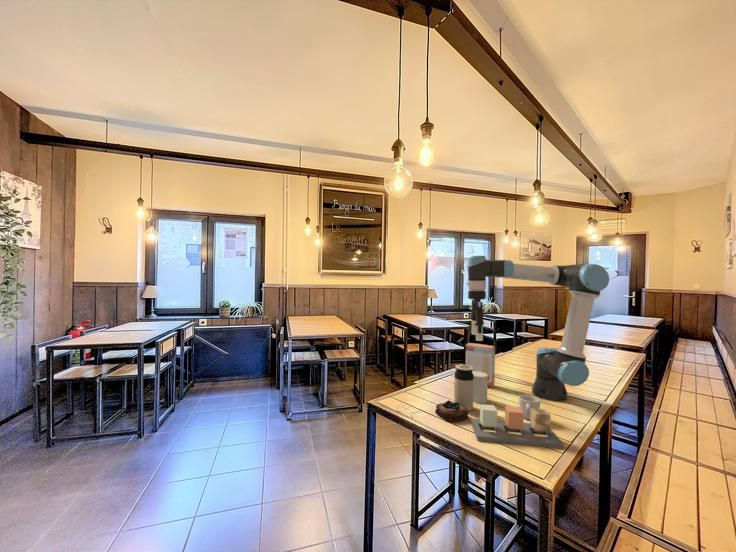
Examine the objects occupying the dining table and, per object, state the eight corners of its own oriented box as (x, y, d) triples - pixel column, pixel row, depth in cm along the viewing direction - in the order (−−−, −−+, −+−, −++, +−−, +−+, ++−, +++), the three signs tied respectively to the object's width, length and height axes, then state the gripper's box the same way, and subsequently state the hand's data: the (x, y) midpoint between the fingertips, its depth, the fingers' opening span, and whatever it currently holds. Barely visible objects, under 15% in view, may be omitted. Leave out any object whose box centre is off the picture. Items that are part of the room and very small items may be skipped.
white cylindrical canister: (488, 403, 147) (488, 377, 146) (469, 402, 148) (470, 376, 148) (485, 397, 154) (486, 372, 154) (467, 395, 156) (468, 370, 156)
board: (547, 428, 123) (547, 424, 123) (563, 448, 110) (563, 443, 110) (470, 422, 128) (471, 418, 128) (477, 440, 114) (477, 436, 114)
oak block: (544, 425, 119) (545, 409, 119) (550, 432, 114) (550, 415, 114) (530, 424, 120) (530, 408, 120) (535, 430, 115) (535, 413, 115)
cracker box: (494, 385, 172) (495, 345, 172) (491, 388, 167) (492, 347, 167) (468, 379, 180) (469, 342, 180) (464, 382, 175) (465, 344, 175)
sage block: (493, 421, 122) (494, 405, 122) (496, 427, 117) (497, 410, 117) (479, 420, 123) (480, 404, 123) (482, 426, 118) (482, 409, 118)
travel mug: (476, 407, 142) (476, 366, 142) (467, 413, 136) (468, 370, 136) (459, 402, 147) (460, 363, 147) (450, 407, 141) (451, 366, 141)
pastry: (449, 424, 126) (449, 409, 126) (431, 412, 137) (432, 398, 137) (471, 420, 130) (472, 405, 130) (452, 408, 141) (453, 395, 141)
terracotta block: (518, 423, 121) (519, 407, 121) (523, 429, 116) (523, 413, 116) (504, 422, 121) (505, 406, 121) (508, 428, 116) (508, 411, 116)
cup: (538, 426, 125) (539, 406, 125) (516, 421, 129) (516, 401, 129) (540, 416, 134) (541, 397, 134) (519, 411, 139) (520, 393, 139)
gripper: (465, 288, 158) (465, 332, 158) (472, 291, 133) (472, 343, 134) (481, 288, 157) (481, 332, 157) (491, 291, 132) (491, 343, 132)
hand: (476, 337), depth 145 cm, fingers open, 13 cm apart
